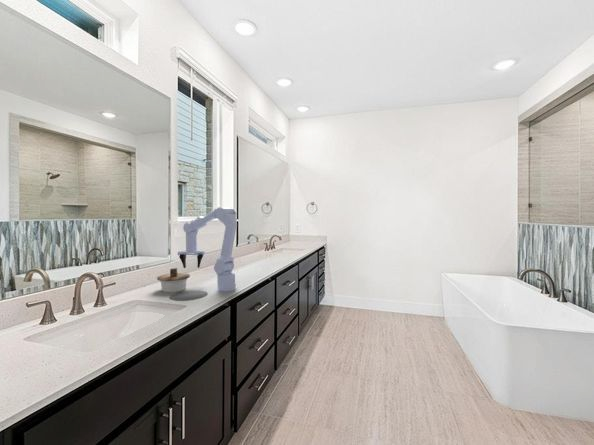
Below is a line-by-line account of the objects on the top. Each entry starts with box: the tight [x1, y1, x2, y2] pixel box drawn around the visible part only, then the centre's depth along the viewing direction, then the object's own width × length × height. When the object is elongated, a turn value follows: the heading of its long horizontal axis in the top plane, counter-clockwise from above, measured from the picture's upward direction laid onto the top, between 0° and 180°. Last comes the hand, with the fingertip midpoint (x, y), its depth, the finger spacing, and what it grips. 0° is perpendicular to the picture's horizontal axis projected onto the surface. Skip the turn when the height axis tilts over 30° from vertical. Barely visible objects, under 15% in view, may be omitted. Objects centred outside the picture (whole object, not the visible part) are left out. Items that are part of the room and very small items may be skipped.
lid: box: [156, 267, 191, 281], centre depth 152 cm, size 16×16×5 cm
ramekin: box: [160, 278, 188, 293], centre depth 152 cm, size 13×13×7 cm
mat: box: [168, 290, 209, 302], centre depth 140 cm, size 18×18×1 cm
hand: (191, 267), depth 161 cm, fingers open, 7 cm apart
